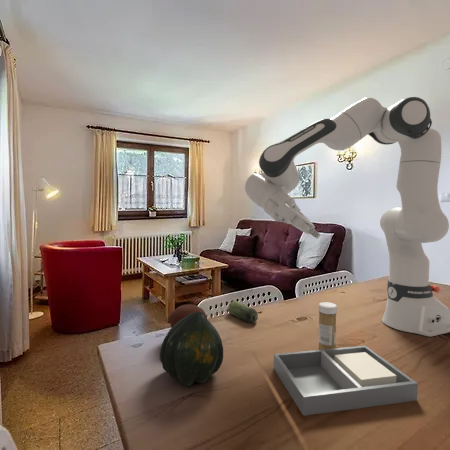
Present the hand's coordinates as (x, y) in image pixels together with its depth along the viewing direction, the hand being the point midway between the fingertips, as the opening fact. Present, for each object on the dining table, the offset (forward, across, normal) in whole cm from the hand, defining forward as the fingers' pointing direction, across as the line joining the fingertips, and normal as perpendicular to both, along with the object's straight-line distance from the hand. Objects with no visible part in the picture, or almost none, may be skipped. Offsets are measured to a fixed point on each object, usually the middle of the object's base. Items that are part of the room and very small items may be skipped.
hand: (313, 233), depth 87 cm
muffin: (-3, -13, +47) cm, 49 cm away
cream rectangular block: (+34, -7, +18) cm, 39 cm away
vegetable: (-3, +10, +39) cm, 40 cm away
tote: (+31, -11, +22) cm, 40 cm away
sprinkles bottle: (+24, +2, +23) cm, 33 cm away
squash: (+10, -25, +43) cm, 50 cm away
